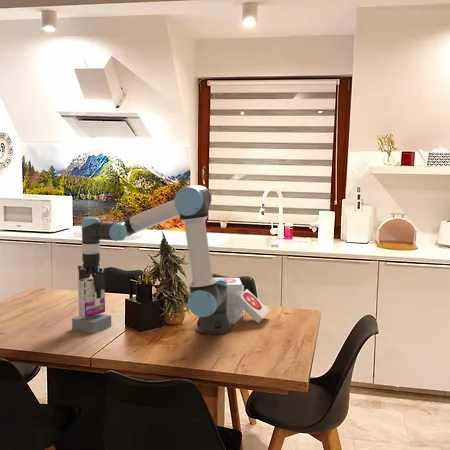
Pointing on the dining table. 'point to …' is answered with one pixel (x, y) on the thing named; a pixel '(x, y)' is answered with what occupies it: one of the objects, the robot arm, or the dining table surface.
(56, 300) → the dining table surface
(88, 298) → the candy bar box
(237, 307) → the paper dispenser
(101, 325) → the grey block
